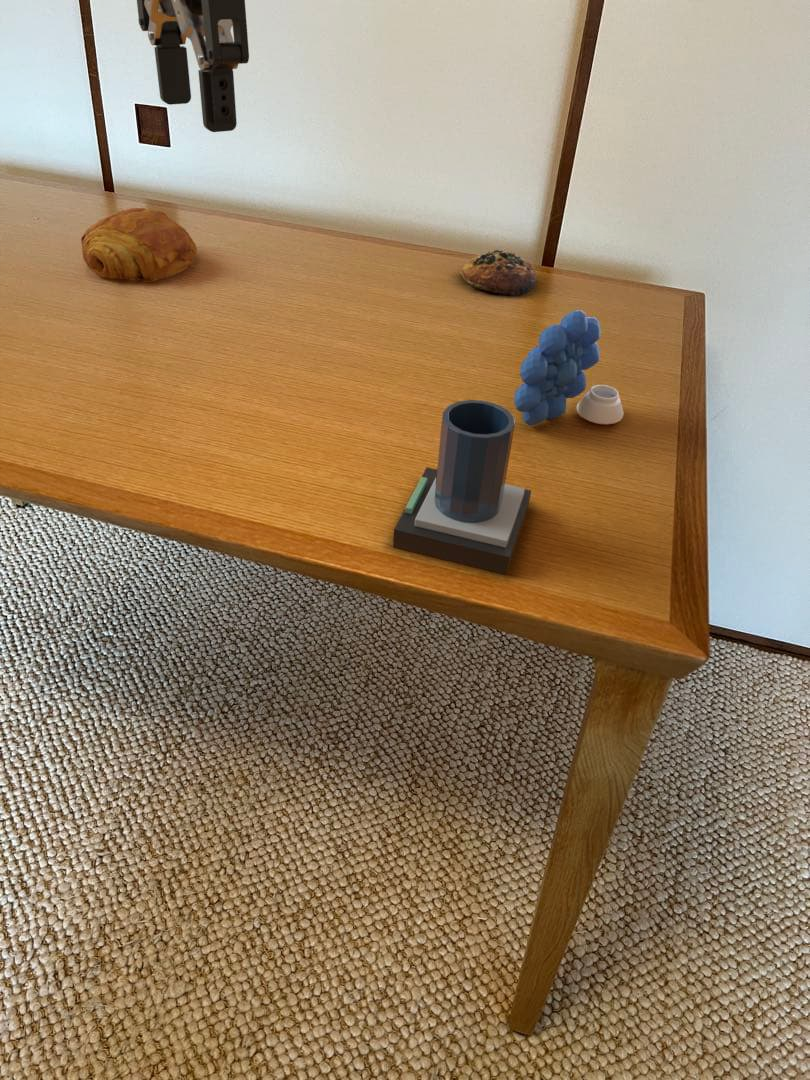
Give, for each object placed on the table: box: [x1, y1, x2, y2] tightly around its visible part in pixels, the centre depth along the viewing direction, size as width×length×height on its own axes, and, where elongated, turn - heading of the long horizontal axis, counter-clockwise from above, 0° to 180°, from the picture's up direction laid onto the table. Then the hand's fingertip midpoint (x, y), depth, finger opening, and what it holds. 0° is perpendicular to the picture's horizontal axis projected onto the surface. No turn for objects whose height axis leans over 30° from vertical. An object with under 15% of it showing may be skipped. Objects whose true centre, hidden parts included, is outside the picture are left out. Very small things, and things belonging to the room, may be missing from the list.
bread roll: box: [459, 249, 537, 297], centre depth 116 cm, size 11×11×5 cm
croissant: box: [80, 207, 198, 283], centre depth 112 cm, size 14×16×8 cm
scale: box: [392, 467, 532, 576], centre depth 72 cm, size 10×10×3 cm
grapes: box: [513, 309, 601, 426], centre depth 85 cm, size 12×7×12 cm, turn 130°
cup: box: [434, 399, 516, 523], centre depth 68 cm, size 6×6×8 cm
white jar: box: [576, 384, 625, 425], centre depth 88 cm, size 5×3×5 cm
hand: (197, 116), depth 60 cm, fingers open, 8 cm apart
